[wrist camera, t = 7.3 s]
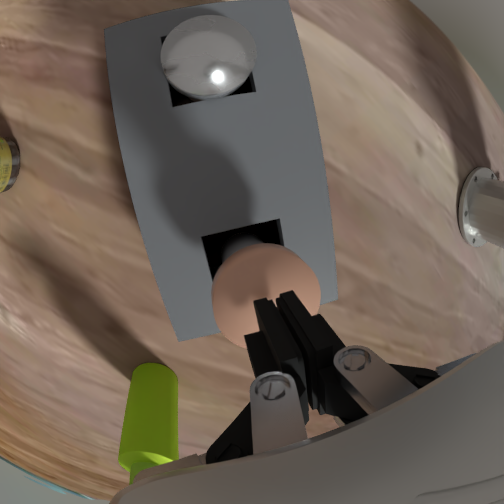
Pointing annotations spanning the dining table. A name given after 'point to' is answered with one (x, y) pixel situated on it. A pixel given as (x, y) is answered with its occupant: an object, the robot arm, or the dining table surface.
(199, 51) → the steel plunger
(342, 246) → the dining table surface
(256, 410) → the robot arm
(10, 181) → the sauce bottle
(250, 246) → the terracotta plunger
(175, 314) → the button box
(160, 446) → the soap dispenser
